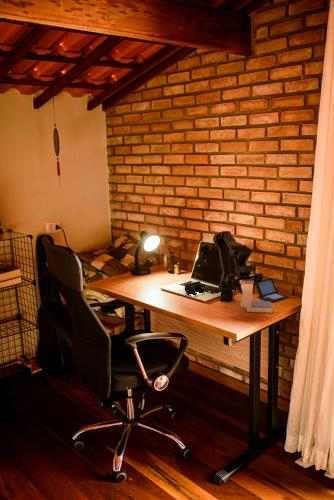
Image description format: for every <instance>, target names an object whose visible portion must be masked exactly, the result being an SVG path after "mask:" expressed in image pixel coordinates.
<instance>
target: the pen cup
mask: <svg viewBox="0 0 334 500" xmlns="http://www.w3.org/2000/svg"><path fill="white" fill-rule="evenodd" d="M253 283H254V280H252V279H242V280H240V286H241V289H242V294H240V300H239V301H240V303H239V306H241V307H242V308H244V307H247V308H248V307H252V301H253V295H254V294H253Z"/></svg>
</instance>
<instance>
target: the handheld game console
mask: <svg viewBox="0 0 334 500" xmlns="http://www.w3.org/2000/svg"><path fill="white" fill-rule="evenodd" d="M255 289H257V293H258V295H259V300H261V301H271V304H272V303H276V302H279V301H282V300H283V299H284V300H286V299H285V298H287V299H289V295H286V294H282V293H280V292H279V291H278V290H277V287H276V285H275V282H274V279H273V278H271V277H270V278H266V279H262V281H261V282H260V283H256V284H255Z"/></svg>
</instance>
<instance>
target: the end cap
mask: <svg viewBox="0 0 334 500" xmlns="http://www.w3.org/2000/svg"><path fill="white" fill-rule="evenodd" d="M205 286H206V284H205V283H201V281H195V282H191V283H187V284H185V286H184V292H185V293H186V294H187V295H188V294H193V295H196V294H197V293H195V292H199V293H205V291H206V289H205ZM202 287H203V288H202Z"/></svg>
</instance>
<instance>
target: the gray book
mask: <svg viewBox="0 0 334 500" xmlns="http://www.w3.org/2000/svg"><path fill="white" fill-rule="evenodd" d="M243 308H244V312H245V313H258V314H259V313H260V314H261V313H263V314H273V312H274V307H273V305H272V303H271V301H265V300H252V307H248V308H247V307H243Z"/></svg>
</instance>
